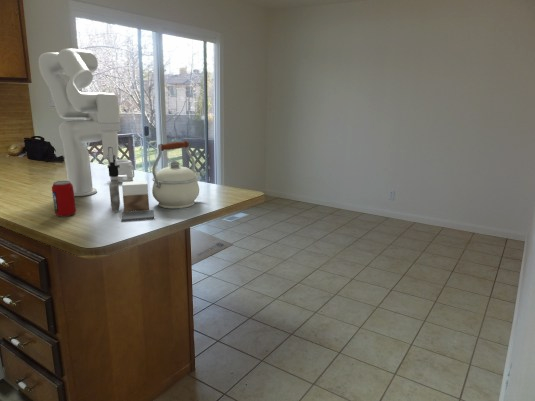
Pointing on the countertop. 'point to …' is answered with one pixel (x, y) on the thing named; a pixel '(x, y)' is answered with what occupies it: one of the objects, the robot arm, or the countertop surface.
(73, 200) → the beverage can
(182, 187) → the kettle
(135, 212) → the mat
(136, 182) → the cover
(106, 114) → the robot arm
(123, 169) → the mug
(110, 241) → the countertop surface
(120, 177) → the latch
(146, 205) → the housing
